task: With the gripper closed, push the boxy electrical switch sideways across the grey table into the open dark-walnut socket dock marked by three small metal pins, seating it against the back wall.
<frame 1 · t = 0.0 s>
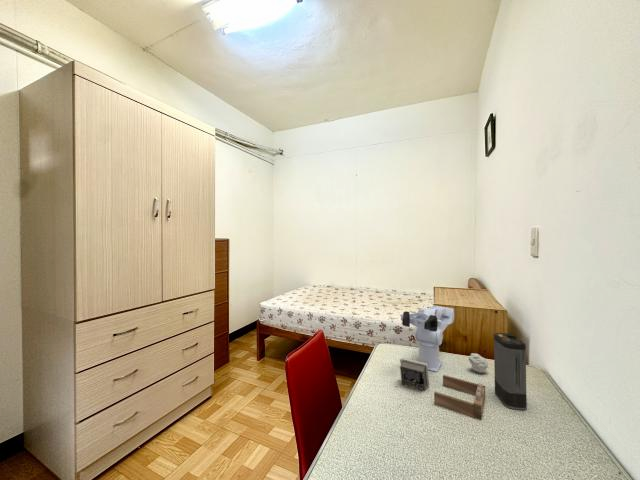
hand: (414, 324, 92), 22 cm above the table, tool horizontal, fingers open, 7 cm apart
grey rounded carved piece: (478, 372, 101), on the table
electrical switch: (414, 387, 91), on the table
socket dock: (459, 400, 83), on the table
electronic device: (509, 401, 83), on the table
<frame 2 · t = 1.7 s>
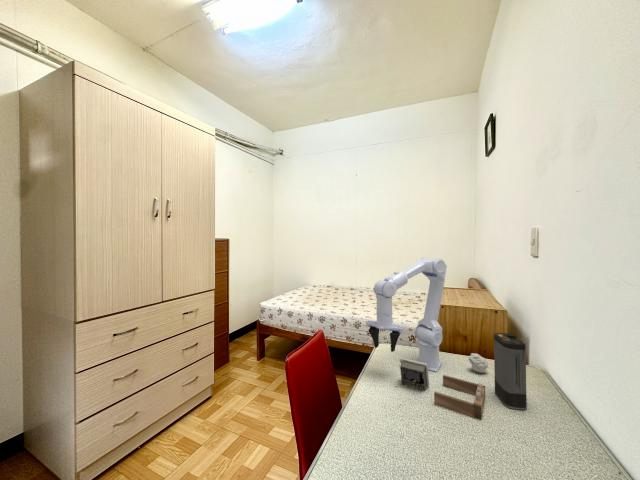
hand: (384, 348, 98), 10 cm above the table, tool pointing down, fingers open, 6 cm apart
nothing on the table moved.
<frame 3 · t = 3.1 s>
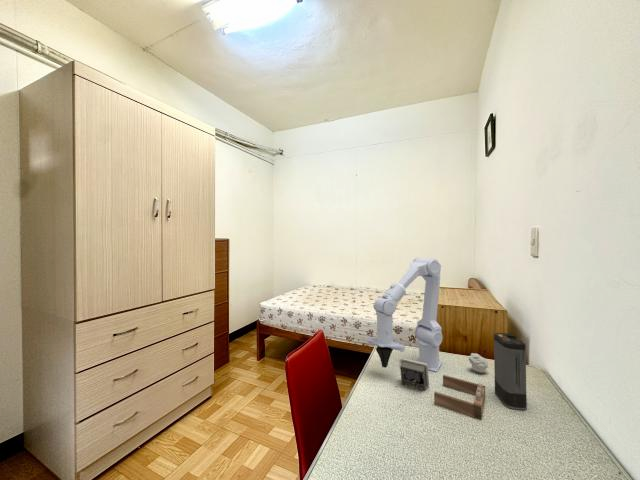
hand: (384, 366, 98), 4 cm above the table, tool pointing down, fingers closed
nothing on the table moved.
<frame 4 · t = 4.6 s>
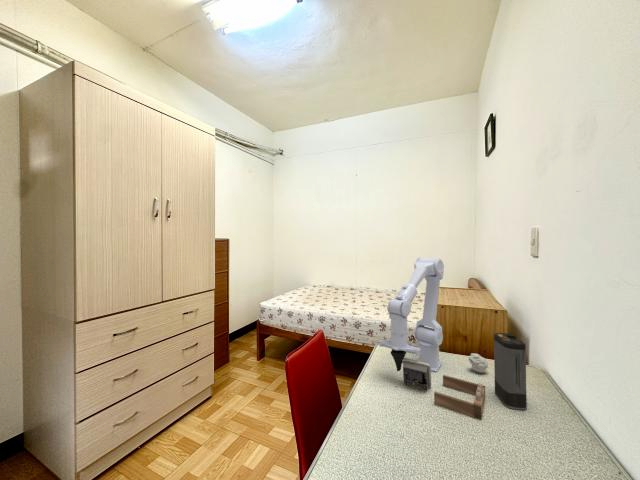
hand: (399, 370, 95), 4 cm above the table, tool pointing down, fingers closed
electrical switch: (416, 387, 91), on the table, touching gripper
everything else where it was.
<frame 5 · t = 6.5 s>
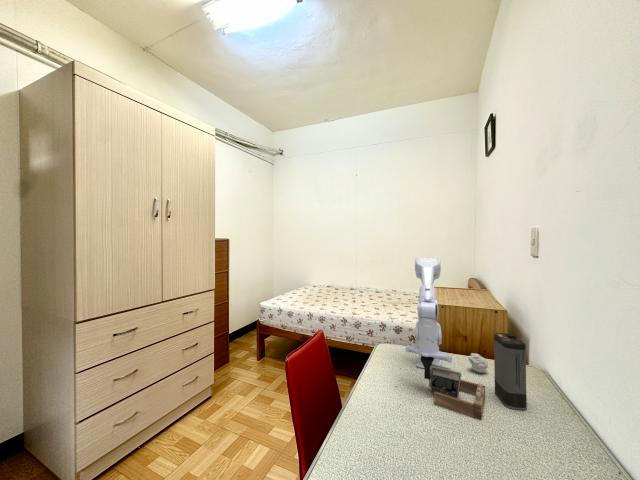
hand: (428, 378, 88), 4 cm above the table, tool pointing down, fingers closed, pressing on electrical switch
electrical switch: (444, 394, 86), on the table, touching gripper
everything else where it was.
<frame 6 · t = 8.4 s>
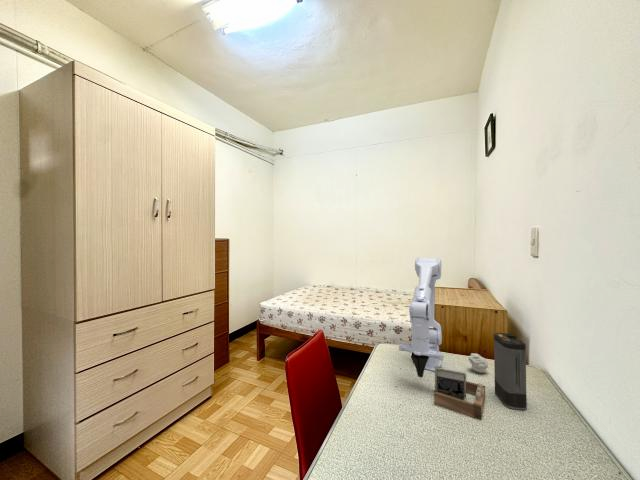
hand: (420, 375, 90), 4 cm above the table, tool pointing down, fingers closed
electrical switch: (451, 397, 85), on the table
everything else where it was.
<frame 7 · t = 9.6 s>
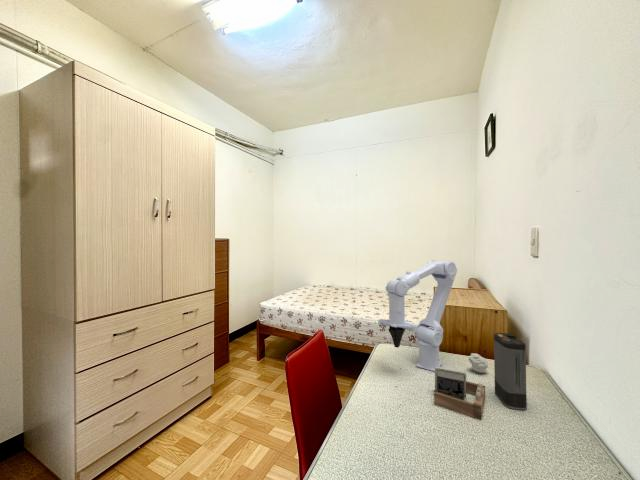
hand: (397, 346, 100), 10 cm above the table, tool pointing down, fingers closed
nothing on the table moved.
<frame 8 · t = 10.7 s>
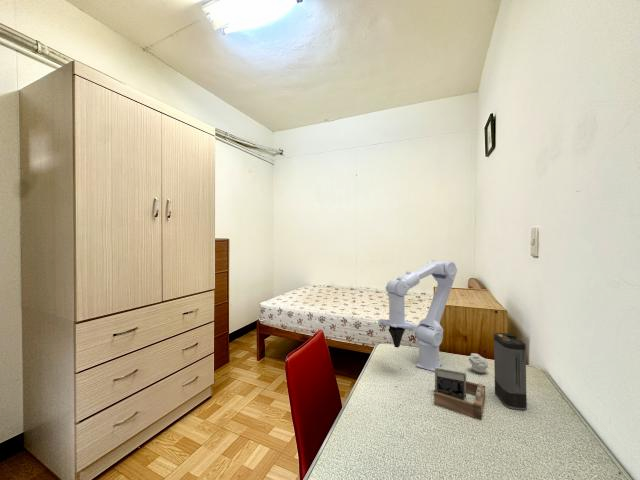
hand: (397, 346, 100), 10 cm above the table, tool pointing down, fingers closed
nothing on the table moved.
at the end: electrical switch inside the target area on the socket dock (2.1 cm from its centre), point 0.0 cm above the socket dock's base; electrical switch tilted 0°; electrical switch touching table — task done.
